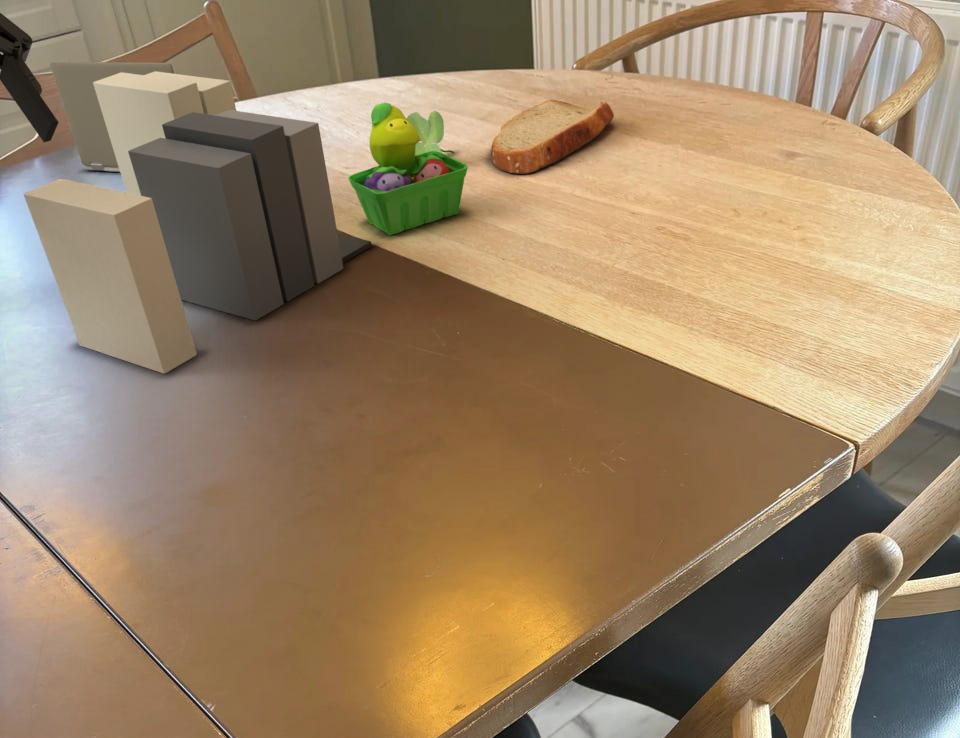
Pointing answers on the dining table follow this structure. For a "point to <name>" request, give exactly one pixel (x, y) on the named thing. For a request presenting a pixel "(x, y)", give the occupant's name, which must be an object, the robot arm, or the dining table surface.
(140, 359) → the white book
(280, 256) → the grey books
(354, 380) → the dining table surface
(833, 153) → the dining table surface
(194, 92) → the white books
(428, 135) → the seedling
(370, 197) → the fruit basket
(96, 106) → the laptop
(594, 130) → the bread slice
